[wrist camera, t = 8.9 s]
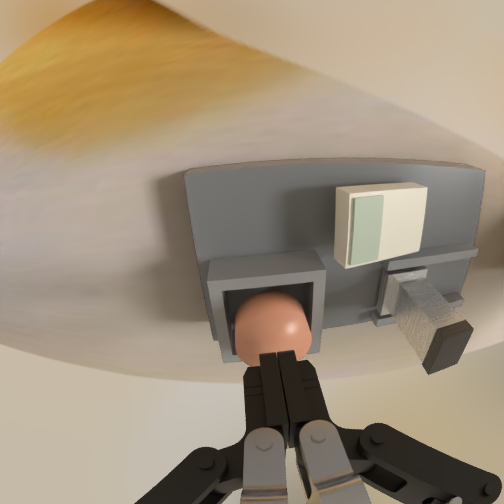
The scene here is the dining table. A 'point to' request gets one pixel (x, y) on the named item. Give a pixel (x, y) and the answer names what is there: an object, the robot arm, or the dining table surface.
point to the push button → (270, 326)
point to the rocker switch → (378, 222)
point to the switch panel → (319, 236)
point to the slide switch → (423, 317)
